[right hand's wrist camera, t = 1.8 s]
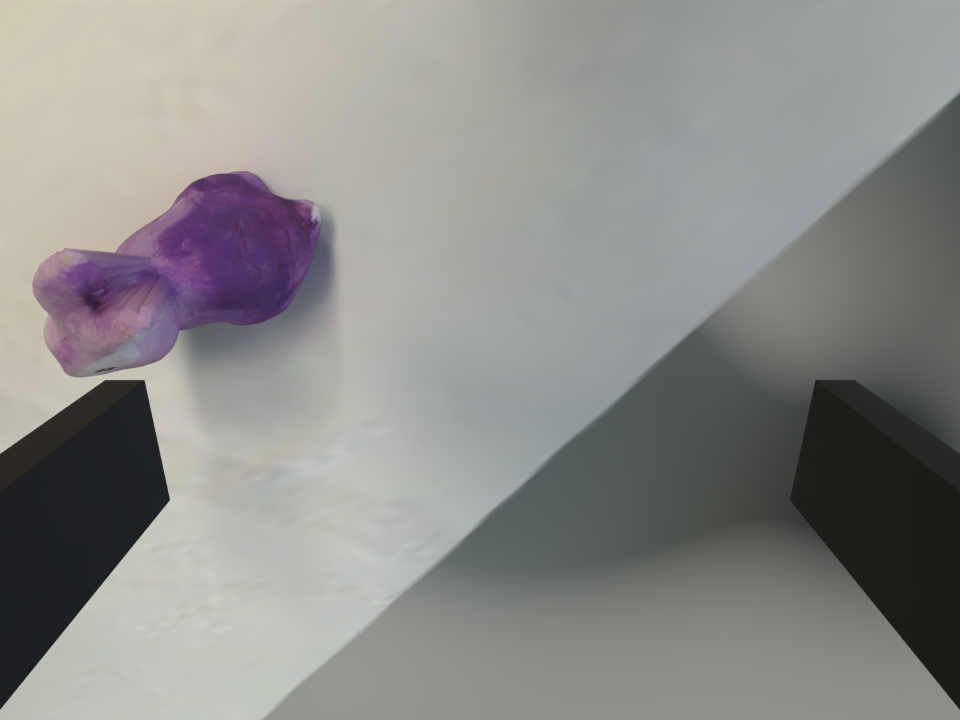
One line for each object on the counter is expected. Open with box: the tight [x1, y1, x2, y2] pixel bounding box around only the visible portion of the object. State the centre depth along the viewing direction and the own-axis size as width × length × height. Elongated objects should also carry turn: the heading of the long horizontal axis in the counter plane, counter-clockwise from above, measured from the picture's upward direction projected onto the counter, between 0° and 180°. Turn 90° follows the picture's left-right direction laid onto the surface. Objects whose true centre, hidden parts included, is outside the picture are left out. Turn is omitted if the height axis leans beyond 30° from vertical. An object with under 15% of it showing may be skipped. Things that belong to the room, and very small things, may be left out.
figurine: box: [33, 171, 322, 377], centre depth 30 cm, size 9×10×15 cm
